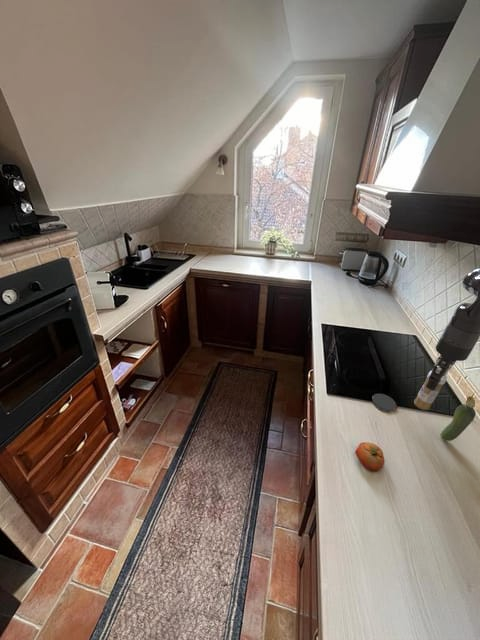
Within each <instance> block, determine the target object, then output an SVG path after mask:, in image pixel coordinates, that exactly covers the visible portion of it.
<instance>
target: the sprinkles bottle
mask: <svg viewBox="0 0 480 640" xmlns="http://www.w3.org/2000/svg"><path fill="white" fill-rule="evenodd" d="M431 372H432V370H430V371H429V372H428V374H427V376H426V379H425V381H424V383H423V384H422V386H421V388H420V389H419V391H418V393H417V395H416V397H415V399H413V403H414V405H415V406H416V407H417V408H418V409H420V410H423V411H428V410H430V408H431V406H432V404H433V403H434V401H435V400H436V398H437V396H438V395H439V393H440V391H441V389H442V387H443V386H444V384H445V383H446V382H447V380H448V377H447V375H446V376H443V377H442V379H441V381H440V382H439V383H438V385H437V387H436V388H435V390H434V391H432V390H430V389H428V388H427V387H426V385H427V383H428V382H429V376H430V375H431Z"/></svg>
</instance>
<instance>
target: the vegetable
mask: <svg viewBox="0 0 480 640" xmlns="http://www.w3.org/2000/svg"><path fill="white" fill-rule="evenodd" d="M475 407H476V400H475V397H473V396H472V395H469V396H467V397H466V401H465V403H462V404H459V405H457V407H456V408H455V410H454V413H453V417H452V420H451V421H450V423H449V424H448V425H446V427H444V429H443V430H442V431H441V432H440V434H439V435H440V438H441V440H442V441H444V442H445V441H449V442H450V441H453V440H455V439H457V438H458V437H459V436H460V435H461V434H462V433H463V432H465V430H467V428H468V427H469V426H470V425H471V423H472V422H473V421H474V419H475V417H476V413H477V412H476V410H475Z"/></svg>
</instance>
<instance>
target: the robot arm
mask: <svg viewBox="0 0 480 640" xmlns="http://www.w3.org/2000/svg"><path fill="white" fill-rule="evenodd" d="M462 287H463V289H464V290H465V291H466V292H468V293H469V294H470V295H472V296H474V297H476V298H475V300H474V301H473V302H463V303H461V304H459V305H458V306H457V307H456V309H455V310H454V313H453V314H452V316H451V318H450V320H449V322H448V324H447V325H446V326H445V328H444V330H443V332H442V333H441V336H440V337H439V339H438V341H437V343H436V345H435V350H436V352H437V353H438V354H439V356H437V358H436V359H435V364H434V366H433V367H432V369H431V371H432V372H431V375H430V376H429V382H428V383H427V385H426V387H427V388H428V389H430V390H432V391H434V390H435V388H436V387H437V385H438V383H439V382H440V381H441V379H442V377H443V376H446V377H447V374H448V373H449V371H451V369H452V368H453V367H454V365H455V364H456V363H457V362H463V361H466V360H467V359H468V358H469V356H470V355H471V353H472V351H473V350H474V348H475V346H476V345H477V344H478V341H479V339H480V266H479V267H476V268H473V269H472V270H471V271H469V272H468V273H467V274H466V275H465V276H464V278H463V279H462Z"/></svg>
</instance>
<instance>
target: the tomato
mask: <svg viewBox="0 0 480 640" xmlns="http://www.w3.org/2000/svg"><path fill="white" fill-rule="evenodd" d="M354 453H355V455H356V457H357V459H358V460H359V463H361V465H362V466H363V467H364V468H366V469H367V470H368V471H370V472H371V473H372V472H373V473H374V472H378V471H380V470H381V469H382V468H383V466H384V465H385V461H386V460H385V457H384V452H383V450H382V449H381V448H380V446H379V445H376V444H375V443H372V442H360V443H359V444H358V446H357V447H356V450H355V451H354Z"/></svg>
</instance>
